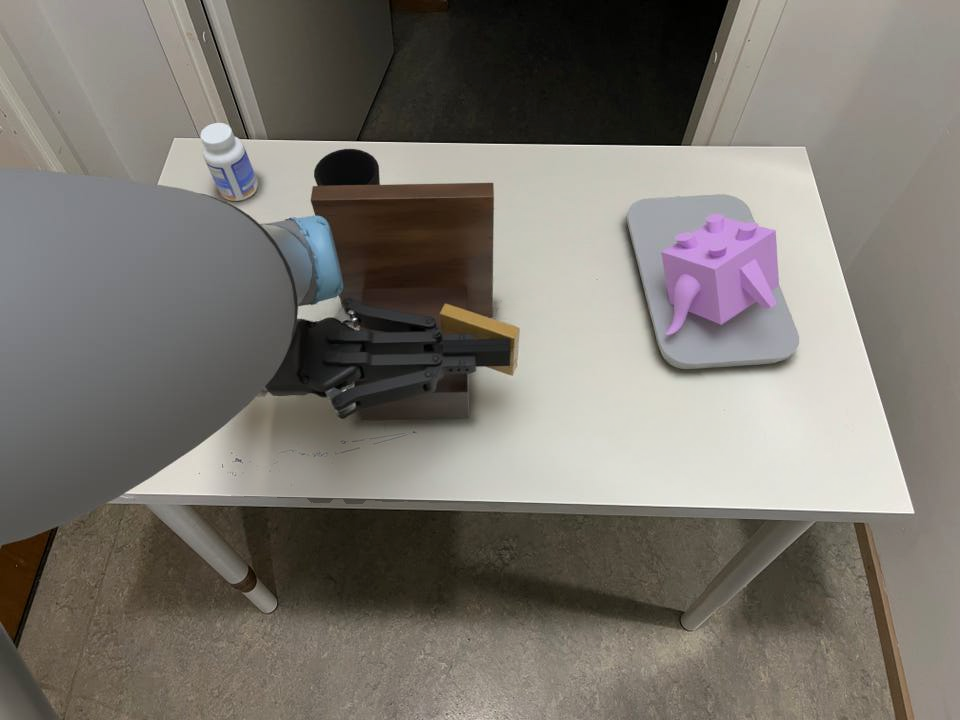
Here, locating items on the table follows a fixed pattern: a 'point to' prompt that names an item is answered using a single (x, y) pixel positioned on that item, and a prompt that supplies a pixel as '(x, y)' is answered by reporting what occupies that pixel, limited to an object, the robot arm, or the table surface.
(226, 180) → the pill bottle
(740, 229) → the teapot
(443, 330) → the lever
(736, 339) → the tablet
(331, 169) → the cup
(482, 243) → the case
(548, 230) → the table surface
